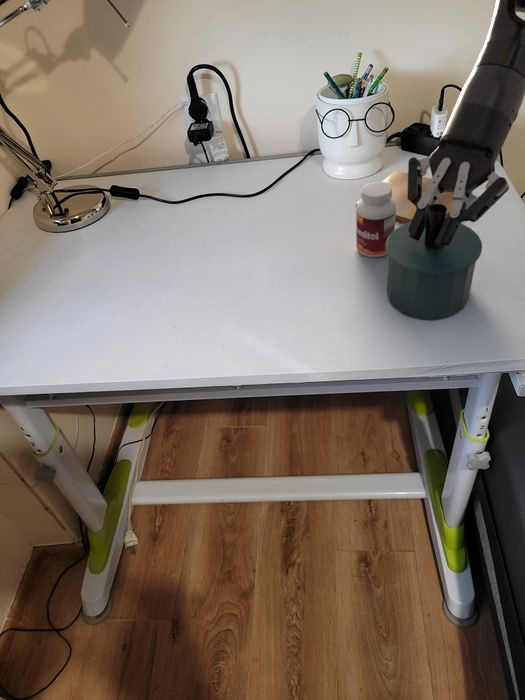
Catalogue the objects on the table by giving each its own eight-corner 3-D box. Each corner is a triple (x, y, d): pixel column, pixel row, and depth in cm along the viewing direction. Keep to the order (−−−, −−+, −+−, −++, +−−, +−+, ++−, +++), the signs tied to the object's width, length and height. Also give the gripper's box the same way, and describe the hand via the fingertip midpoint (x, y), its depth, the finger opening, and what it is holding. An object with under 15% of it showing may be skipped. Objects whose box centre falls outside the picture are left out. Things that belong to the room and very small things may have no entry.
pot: (482, 285, 76) (492, 237, 70) (443, 331, 71) (451, 283, 65) (412, 261, 82) (416, 215, 76) (372, 301, 77) (373, 255, 71)
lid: (497, 240, 70) (506, 197, 65) (452, 290, 64) (460, 247, 60) (414, 216, 77) (418, 176, 72) (368, 260, 71) (368, 219, 66)
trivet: (472, 193, 93) (473, 188, 93) (434, 231, 87) (434, 226, 86) (395, 174, 102) (395, 170, 101) (355, 207, 95) (355, 203, 95)
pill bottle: (348, 250, 87) (347, 191, 79) (371, 233, 89) (372, 174, 81) (378, 263, 83) (379, 203, 75) (401, 245, 85) (405, 185, 78)
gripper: (424, 93, 65) (370, 221, 69) (536, 109, 58) (470, 252, 61) (440, 118, 72) (390, 235, 75) (543, 136, 64) (483, 265, 67)
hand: (426, 242), depth 68 cm, fingers open, 3 cm apart
